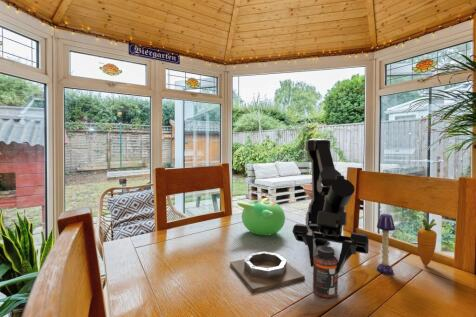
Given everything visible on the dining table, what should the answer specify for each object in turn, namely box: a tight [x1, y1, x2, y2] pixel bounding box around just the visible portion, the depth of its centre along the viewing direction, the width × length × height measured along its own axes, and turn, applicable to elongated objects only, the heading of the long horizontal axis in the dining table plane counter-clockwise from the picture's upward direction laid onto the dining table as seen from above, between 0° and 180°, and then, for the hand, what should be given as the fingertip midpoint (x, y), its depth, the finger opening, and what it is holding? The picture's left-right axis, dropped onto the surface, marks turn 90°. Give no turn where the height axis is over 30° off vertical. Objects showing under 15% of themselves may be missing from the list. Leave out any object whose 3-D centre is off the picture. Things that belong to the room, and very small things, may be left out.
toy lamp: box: [376, 213, 396, 275], centre depth 77 cm, size 5×5×17 cm
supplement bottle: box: [312, 245, 339, 299], centre depth 66 cm, size 6×6×11 cm
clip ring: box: [244, 251, 288, 280], centre depth 77 cm, size 12×12×2 cm
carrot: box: [416, 217, 437, 267], centre depth 80 cm, size 5×5×15 cm
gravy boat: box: [237, 197, 286, 236], centre depth 108 cm, size 18×17×15 cm
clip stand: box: [229, 258, 306, 294], centre depth 77 cm, size 16×16×1 cm
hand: (324, 269), depth 65 cm, fingers closed on supplement bottle, 6 cm apart
